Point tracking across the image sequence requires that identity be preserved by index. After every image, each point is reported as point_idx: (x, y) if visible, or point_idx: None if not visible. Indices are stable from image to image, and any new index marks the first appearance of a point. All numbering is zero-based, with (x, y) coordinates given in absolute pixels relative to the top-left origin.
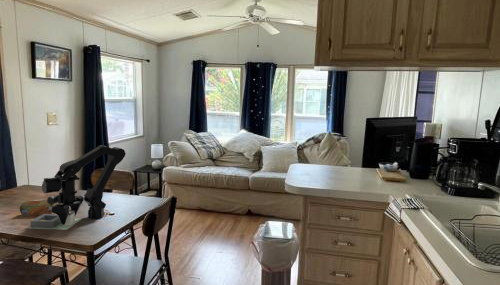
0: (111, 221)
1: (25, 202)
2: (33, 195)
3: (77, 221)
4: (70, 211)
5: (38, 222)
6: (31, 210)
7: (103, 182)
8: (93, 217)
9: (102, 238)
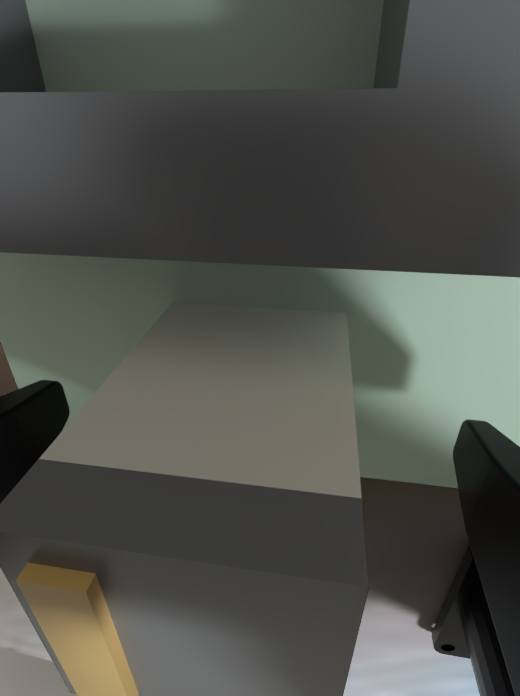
0: (408, 693)
1: None
2: None
3: (374, 469)
4: (226, 684)
5: None
6: None
7: None
8: (475, 638)
9: (37, 655)
